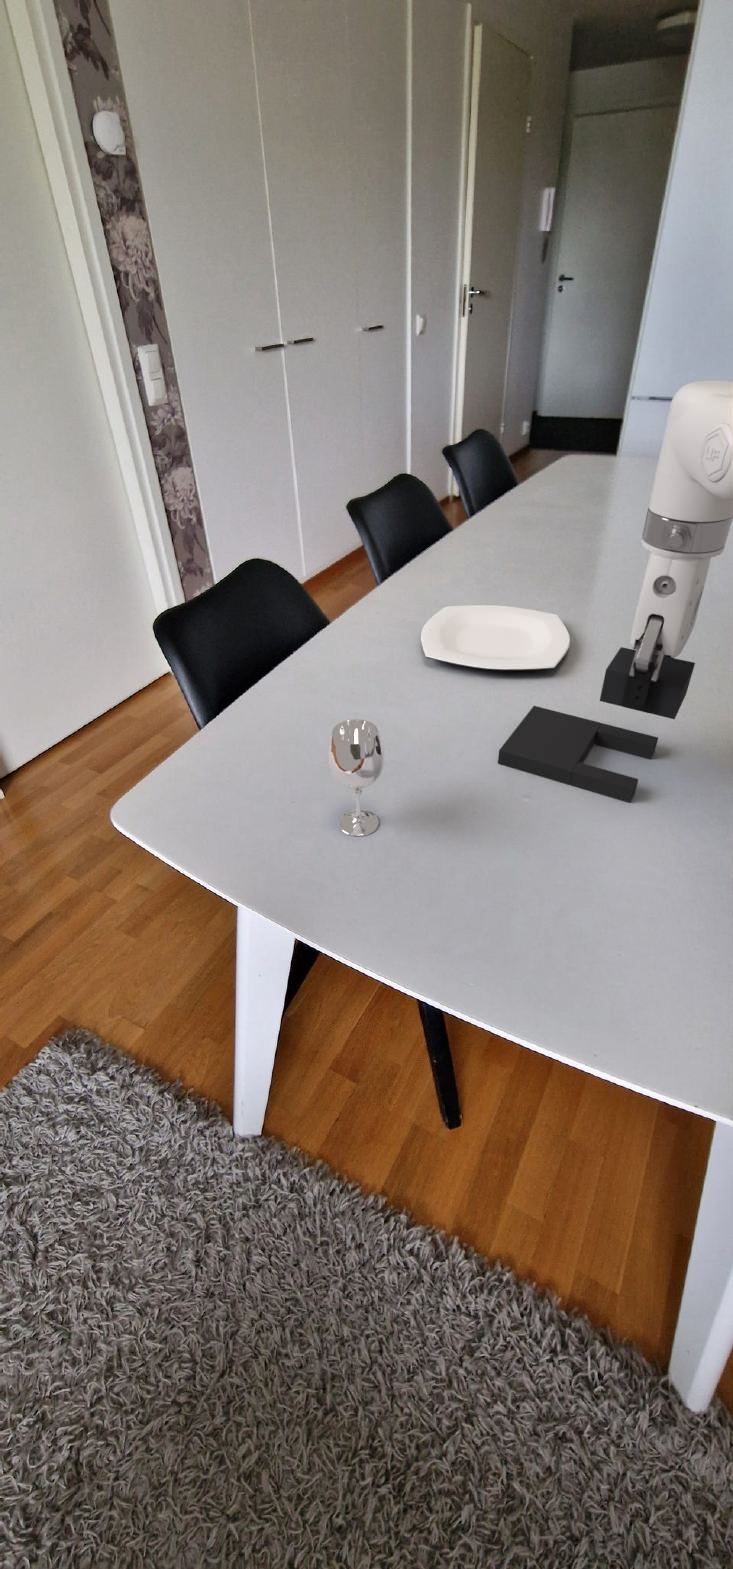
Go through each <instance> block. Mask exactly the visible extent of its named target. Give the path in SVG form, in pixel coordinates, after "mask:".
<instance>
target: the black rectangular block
mask: <svg viewBox="0 0 733 1569" xmlns="http://www.w3.org/2000/svg"><path fill="white" fill-rule="evenodd" d="M635 652H636V649H635V650H634V649H633V648H628V647H620V648H619V649H618V651H617V652H616V653H615V655H614V656H613V658H612V660H611V661H610V663H609V664H608V666H607V667H606V669H605V673H604V678H603V682H602V686H601V692H600V697H599V702H601V703H605V704H606V703H607V704H610V705H614V706H619V707H622V708H624V707H623V706H622V699H623V695H624V691H625V686H626V682H627V677H628V673H629V672H630V670H631V666H632V663H633V659H634V656H635ZM657 658H658V656H654V655H652V661H651V662H654V666H655V664H656V661H657ZM695 665H696V662H694V661H689V660H684V659H679V658H676V657H675V658H670V657H664V660H663V663H662V667H661V670H660V673H659V676H658V678H660V679H661V680H660V684H659V688H658V692H657V696H656V699H655V703H654V707H653V710H652V712H650V713H649V714H650V715H655V716H658V717H663V718H667V719H672V720H675V719H676V717H677V715H678V713H679V711H680V708H681V707H682V704H683V703H684V700H685V699H686V696H687V692H688V689H689V685H690V682H691V679H692V675H693V672H694V670H695Z"/></svg>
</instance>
